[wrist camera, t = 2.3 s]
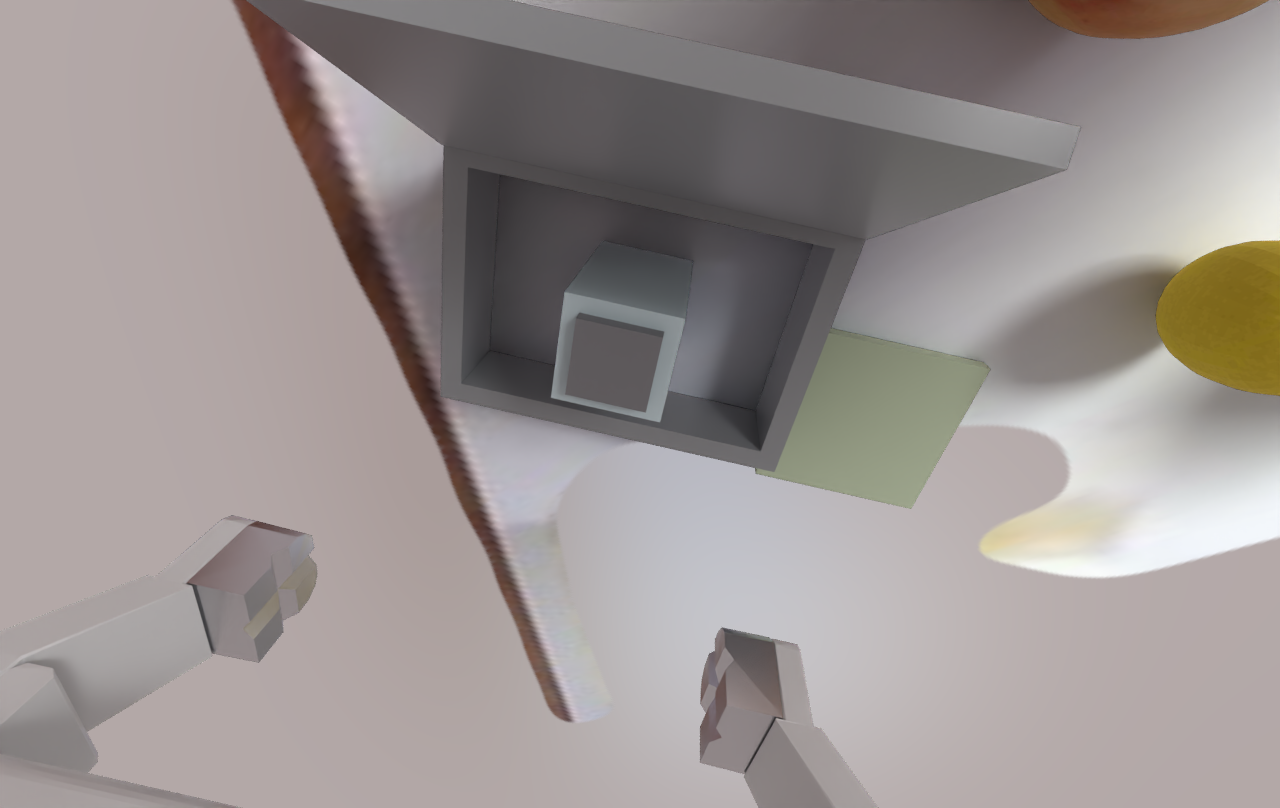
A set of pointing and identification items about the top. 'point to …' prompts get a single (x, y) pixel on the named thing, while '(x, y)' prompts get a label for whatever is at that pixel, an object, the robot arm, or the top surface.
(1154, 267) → the top surface
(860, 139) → the case
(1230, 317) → the lemon
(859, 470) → the pad
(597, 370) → the block
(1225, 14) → the onion
